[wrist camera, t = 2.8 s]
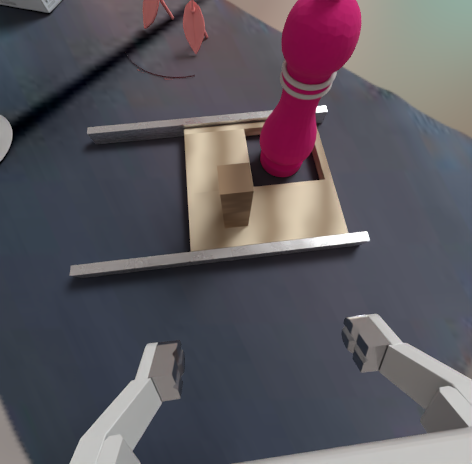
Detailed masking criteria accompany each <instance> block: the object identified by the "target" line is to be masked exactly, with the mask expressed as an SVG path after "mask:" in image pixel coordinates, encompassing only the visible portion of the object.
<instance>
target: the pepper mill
mask: <svg viewBox="0 0 472 464" xmlns="http://www.w3.org/2000/svg"><path fill="white" fill-rule="evenodd" d="M360 30H361V12H360V9H359V6H358V3H357V1H356V0H298V1H297V2H296V4H295V5H294V6H293V8H292V9H291V11H290V13H289V15H288V17H287V20H286V23H285V26H284V29H283V33H282V52H283V55H284V58H285V60H284V62H283V65H282V72H281V75H280V82H281V85H282V87H283V92H282V95H281V99H280V101H279V103H278V105H277V106H276V108H275V109H274V110H273V112H272V113H271V114H270V115H269V116H268V118H267V120H266V121H265V123H264V125H263V127H262V130H261V134H260V146H261V149H262V150H261V155H260V162H261V165H262V167H263V168H264V169H265V170H266V172H268V173H269V174H271V175H273V176H276V177H288V176H291V175H293V174H295V173H296V172H297V171H298V170H299V168H300V166H301V164H302V162H303V160H305V159H306V158H307V157H308V156H309V155H310V153H311V152H312V150H313V147H314V145H315V141H316V135H317V127H316V116H315V113H316V108H317V105H318V102H319V100H320V99H321V97H322V96H324V95H325V94H326V93H327V92H328V91H329V90H330V88H331V86H332V82H333V81H334V79H335V77H336V71H337V70H339V69H340V68H341V67H342V66H343V65H344V64H345V63H346V62H347V61H348V59H349V58H350V57H351V55H352V53H353V51H354V49H355V47H356V44H357V42H358V39H359V35H360Z"/></svg>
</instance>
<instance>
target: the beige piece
mask: <svg viewBox="0 0 472 464" xmlns="http://www.w3.org/2000/svg"><path fill="white" fill-rule="evenodd" d="M264 123H265V122H255V123H245V124H234V125H223V126H213V127H202V128H192V129H184V137H185V156H186V174H187V192H188V211H189V229H190V247H191V252H194V251H202V250H211V249H220V248H228V247H237V246H245V245H254V244H263V243H271V242H280V241H289V240H297V239H306V238H314V237H323V236H332V235H340V234H348V230H347V227H346V223H345V220H344V217H343V213H342V210H341V207H340V203H339V200H338V196H337V193H336V190H335V186H334V183H333V180H332V176H331V173H330V170H329V166H328V163H327V160H326V156H325V153H324V150H323V146H322V143H321V140H320V136H319V133H318V130H317V135H316V141H315V145H314V147H313V150H312V154H313V158H314V162H315V165H316V169H317V172H318V176H319V180H314V181H305V182H295V183H286V184H277V185H267V186H258V187H254V186H253V180H252V174H251V168H250V162H249V156H248V150H247V144H246V138H245V136H251V135H260V134H261V130H262V127H263V125H264ZM316 127H317V126H316Z"/></svg>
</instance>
